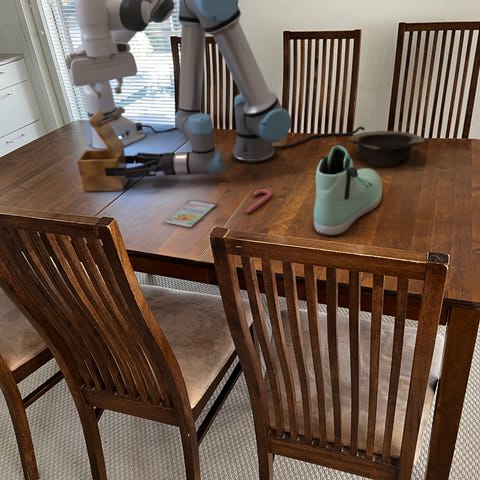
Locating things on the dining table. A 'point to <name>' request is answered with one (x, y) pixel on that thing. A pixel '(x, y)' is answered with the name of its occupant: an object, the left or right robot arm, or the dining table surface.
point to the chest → (101, 170)
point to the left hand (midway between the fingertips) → (108, 95)
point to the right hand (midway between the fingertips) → (110, 166)
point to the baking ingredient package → (190, 213)
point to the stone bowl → (385, 146)
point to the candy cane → (261, 201)
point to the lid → (108, 131)
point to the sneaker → (343, 192)
